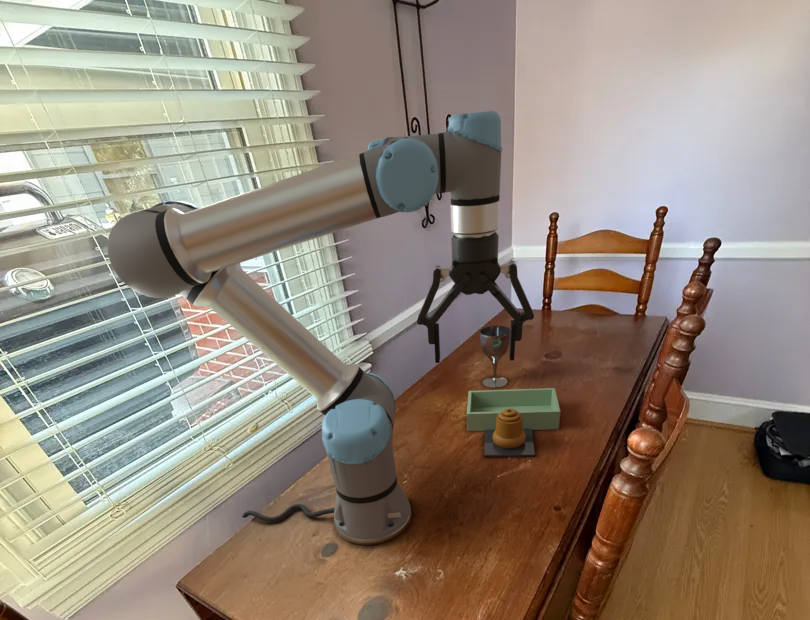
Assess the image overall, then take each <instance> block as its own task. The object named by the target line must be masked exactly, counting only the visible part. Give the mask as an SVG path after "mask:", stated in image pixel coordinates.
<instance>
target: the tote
mask: <svg viewBox="0 0 810 620" xmlns="http://www.w3.org/2000/svg"><path fill="white" fill-rule="evenodd" d="M466 405H467V406H466V431H467V432H482V431H483V432H485V430H494V429H496V419H497V415H498V414H499V413H500V412H502V411H504V410H505V409H509V408H511V409H514V410H516V411H518V412H519V413H520V414H521V415H522V417H523V429H532V431H536V430H537V431H540V430H541V431H542V430H560V420H561V407H560V404H559V399H558V395H557V389H556V387H545V388H512V389H486V390H485V389H484V390H468V394H467V404H466Z"/></svg>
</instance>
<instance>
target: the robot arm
mask: <svg viewBox="0 0 810 620" xmlns="http://www.w3.org/2000/svg"><path fill="white" fill-rule="evenodd" d="M502 152H503V148H502V119H501V116H500V114H499V113H498V112H497V111H495V110H484V111H475V112H466V113H457V114H452V115H451V116H450V117H449V119H448V126H447V131H442V132H439V133H432V134H419V135H418V134H417V135H405V136H388V137H384V138H381V139H374V140H372V141H371V142H370V143H369V144H368V147H367V150H366V151H363V152H361V153H357V154H353V155H350V156H348V157H345V158H342V159H339V160H336V161H333V162H331V163H327V164H325V165H322V166H319V167H316V168H313V169H310V170H308V171H304V172H301V173H298V174H296V175H293V176H289V177H287V178H283V179H281V180H279V181H276V182H272V183H269V184H266V185H264V186H261V187H258V188H254V189H252V190H249V191H245V192H243V193H240V194H238V195H235V196H231V197H229V198H226V199H222V200H220V201H217V202H215V203H211V204H208V205H205V206H203V207H201V206H198V205H196V204H195V203H194V204H193V203H191V202H188V201H183V200H181V201H180V200H178V201H177V200H167V201H166V200H165V201H162V202H159V203H157V204H153V205H152V206H151V207H149V208H146V209H145V208H144V209H142V210H139V211H135V212H132V213H129V214H126V215H124V216H123V217H120V219H119V220H117V222H115V224H114V225H113V226H112V228H111V230H110V231H109V234H108V239H107V254H108V259H109V263H110V264H111V267H112V269H113V271H114V272H115V274H116V275H117V277H118V278H119V279H120V280H121V281H122V283H124V284H125V285H126V286H127V287H128V288H130V289H131V290H132V291H134V292H136V293H138V294H140V295H143V296H145V297H148V298H154V299H166V298H167V299H168V298H171V297H174V296H177V295H178V294H179V295H181V296H182V297H183V298H184V299H185V300H187V302H189V303H190V304H192V305H193V307H207V308H210V309H211V311H213V312H214V313H216V314H217V315H218V316H219V317H220V318H222V319H223V320H224V321H225V322H226V323H227V324H229V325H230V327H232V328H233V329H234V330H236V331H237V332H238V333H239V334H240V335H242V337H244V338H245V339H247V340H248V341H249V342H250V343H251V344H252V345H253V346H255V347H256V348H257V349H258V350H259V351H260V352H261V353H263V354H264V355H265V356H266V357H267V358H269V359H270V360H271V361H272V362H273V363H274V364H276V365H277V366H278V367H279V368H280V369H281V370H283V371H284V372H285V373H286V374H287V375H288V376H290V377H291V378H292V379H293V380H294V381H295V382H297V383H298V384H299V385H300V386H301V387H302V388H304V389H305V390H306V391H307V392H308V393H310V394H311V396H313V397H314V398H315V400H316V402H315V403H316V409H317V411H318V412H320V413H321V414H322V415H323V416H324V417H323V419H322V422H321V440H322V444H323V448H324V449H325V452H326V456H327V457H326V458H327V460H328V461H327V462H328V464H329V468H330V472H331V476H332V480H333V484H334V487H335V491H336V497H335V503H334V507H329V508H326V509H320V510H317V511H313V512H311V511H310V510H308V507H307V506H306V505H305V504H302V503H295V504H292V505H291V506H289V507H287V508H286V509H285V510H284V511H283V512H281V513H280V514H277V515H275V516H266V515H264V514H261V513H260V512H258V511H255V510H251V509H250V510H247V511H245V512H244V513H243V514H242V516H241V517H242V518H243V519H245V518H248V517H249V516H252V517H255V518H257V519H259V520H261V521H264V522H268V523H273V522H279V521H281V520H283V519H284V518H285V517H287V516H288V515H289V514H290V513H291V512H293V511H294V510H298V509H299V510H301V511H302V512H303V513H304V515H305V516H306V517H308V518H317V517H320V516H325V515H330V514H333V523H334V527H335V531H336V533H338V535H339V537H341V538H342V539H343V540H345V541H347V542H350V543H351V544H355V545H360V546H361V545H363V546H370V545H379V544H382V543H386V542H388V541H391V540H393V539H394V538H396V537H398V536H399V535H401V534H402V533H403V532H404V531H405V530H406V529H407V528H408V526H409V524H410V522H411V520H412V508H411V503H410V501H409V498H408V497H407V495H406V493H405V492H404V489H403V488H402V487H401V485H400V483H399V481H398V475H397V469H396V464H395V463H396V462H395V456H394V447H393V446H394V445H393V443H394V441H393V440H394V427H395V426H394V425H395V424H394V423H395V414H396V401H395V397H394V393H393V391H392V389H391V386H390V385H389V384H388V383H387V380H385V379H384V378H383V377H381V376H379V375H378V374H375V373H373V372H365V370H363V369H362V368H361V366H359V365H358V364H356V363H347V364H346V363H344V362H343V361H342V360H341V359H340V358H339V357H338V356H337V355H335V354H334V353H333V352H332V351H331V350H330V349H329V348H328V347H327V346H326V345H325V344H324V343H322V342H321V341H320V339H318V338H317V337H316V336H315V335H314V334H313V333H311V331H310V330H309V329H307V328H306V327H305V326H304V324H302V323H301V322H300V321H299V320H298V319H296V318H295V316H293V315H292V314H291V313H290V312H289V311H288V310H286V308H284V307H283V306H282V305H281V304H280V302H278V301H277V300H276V299H275V298H274V297H273V296H271V294H269V293H268V292H267V291H266V290H265V289H264V288H263V287H262V286H261V285H260V284H258V282H257V281H255V280H254V279H253V278H252V277H251V276H250V275H248V274H247V273H246V271H245V270H244V269H243V268H242V266H241V263H244V262H248V261H251V260H253V259H256V258H259V257H262V256H265V255H268V254H269V255H270V254H272V253H275V252H278V251H281V250H284V249H287V248H291V247H294V246H297V245H299V244H303V243H306V242H308V241H311V240H315V239H319V238H321V237H324V236H327V235H331V234H334V233H336V232H340V231H343V230H345V229H348V228H352V227H355V226H358V225H362V224H364V223H367V222H372V221H373V220H377V219H381V218H385V217H388V216H391V215H394V214H397V213H413V212H416V211H419V210H420V209H423V208H424V207H425V206H426V205H428V203H430V201H431V200H432V199H433V196H434V195H437V194H446V193H450V231H451V232H452V233H453V235H452V237H451V238H450V239H451V241H450V242H451V266H450V267H441V266H440V265H436V266H434V269H433V272H432V282H431V285H430V288H429V289H428V292H427V294H426V297H425V298H424V302H423V304H422V306H421V308H420V311H419V313H418V315H417V319H416V323H417V325H418V326H422V325H423V326H425V327H426V328H427V341H428V344H429V345H434V358H435V359H434V362H435V364H440V362H441V342H440V341H441V340H440V322H438V321H439V320H440V319H441V317H442V316H444V314H445V313H446V311H447V310H448V309H449V308H450V306H451V305H452V304H453V302H454V301H455V300H456V299H457V298H458V296H459V295H460V294H461V293H462V294H464V295H465V296H467V295H468V296H471V295H473V294H476V295H484V294H485V293H487V292H488V293H490V294H491V295H492V296H493V297H494V298H495V300H496V301H497V302H498V303H499V304H500V306H502V308H503V309H504V310H505V311H506V313H507V314H509V316H510V317H511V318H512V319H510V327H509V329H510V341H509V346H508V357H509V361H515V352H516V342H521V341H522V338H523V325H524V323H525V322H526V321H531V320H534V319H535V313H534V310H533V309H532V306H531V304H530V301H529V300H528V299H529V298H528V297H527V295H526V293H525V290H524V288H523V285H522V284H521V281H520V279H519V276H518V265H517V262H516V261H514V260H510V261H509V262H508V263H504V264H499V263H500V262H499V234H498V232H497V230H498V229H499V228H500V205H501V204H500V203H501V202H500V197H501V195H500V194H501V173H502V172H501V171H502V170H501V169H502V168H501V167H502ZM500 274H503V275H504V277H505V278H506V279H509V280H510V284H511V286H512V288H513V290H514V292H515V294H516V297H517V299H518V301H519V304H520V305H521V309H522V310H523V311H521V312H520V310H519V309H518V308H517V307H516V306H515V305H514V303H513V302H512V301H511V300H510V298H509V297H508V296H507V295H506V294H505V292H504V291H503V290H502V289H501V288H500V286H499V284H498V283H497V282H496V280H497V279H498V278H499V276H500ZM447 277H450V279H451V280H452V282H453V283H454V284H453V285H452V286H451V288H450V290H449V291H448V293H446V295H445V296H444V298H443V299H442V300H441V302H440V303H439V304H438V305H437V307H436V308H435V309H434V311H433V312H432V313H431V314H430V316H428V313H429V311H430V309H431V306H432V304H433V302H434V299H435V298H436V295H437V292H438V291H439V287H440V285H441V284H440V283H443V282H445V280H446V278H447Z"/></svg>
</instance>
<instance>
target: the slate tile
mask: <svg viewBox="0 0 810 620" xmlns="http://www.w3.org/2000/svg"><path fill="white" fill-rule="evenodd" d="M495 430H496V429H494V430H485V431H484V452H483V453H484V458H536V451H535V443H534V436H533V430H532V429H523V431H524V432H525V434H526V439H525V442H524V443H523V444H522V445H521V446H519V447H517V448H513V449H505V448H501V447H499V446H497V445H496V444H495V443H494V441H493V433H494V431H495Z"/></svg>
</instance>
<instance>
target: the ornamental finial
mask: <svg viewBox="0 0 810 620" xmlns="http://www.w3.org/2000/svg"><path fill="white" fill-rule="evenodd" d="M525 439H526V434H525V432H524V431H523V417H522V415H521V414H520V413H519V412H518V411H516V410H514V409H511V408H509V409H505V410H504V411H502V412H500V413H499V414H498V415H497V419H496V430H495V431H494V433H493V441H494V443H495V444H496V445H497V446H499V447H501V448H505V449H513V448H517V447H519V446H521V445H522V444H523V443H524V442H525Z"/></svg>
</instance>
